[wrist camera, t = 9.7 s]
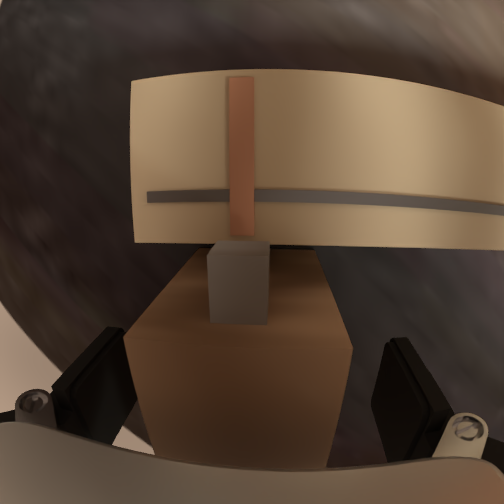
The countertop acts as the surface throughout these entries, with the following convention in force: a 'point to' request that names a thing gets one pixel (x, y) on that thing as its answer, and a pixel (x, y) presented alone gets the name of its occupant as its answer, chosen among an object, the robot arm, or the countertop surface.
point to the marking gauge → (242, 359)
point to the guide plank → (314, 161)
